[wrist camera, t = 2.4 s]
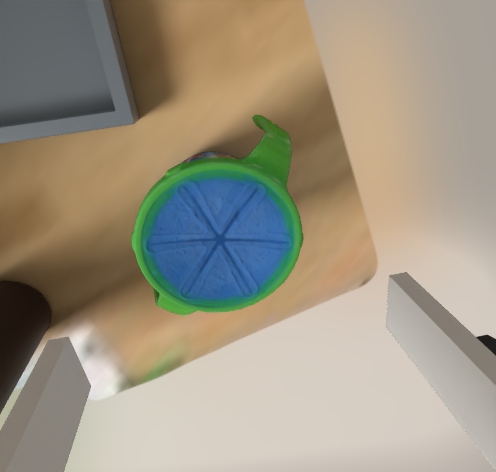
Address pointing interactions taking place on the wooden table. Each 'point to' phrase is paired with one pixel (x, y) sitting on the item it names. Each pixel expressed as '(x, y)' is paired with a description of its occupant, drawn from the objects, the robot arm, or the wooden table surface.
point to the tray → (61, 69)
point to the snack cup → (220, 228)
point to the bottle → (19, 332)
